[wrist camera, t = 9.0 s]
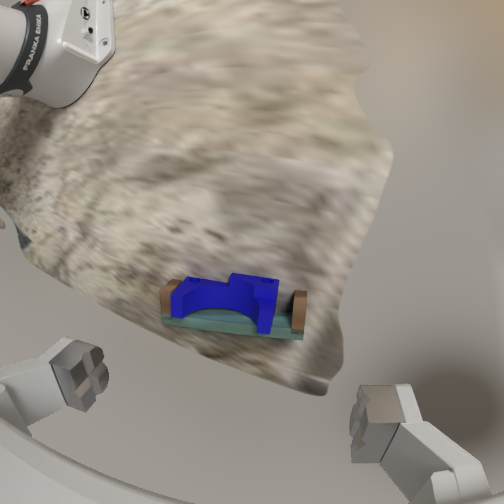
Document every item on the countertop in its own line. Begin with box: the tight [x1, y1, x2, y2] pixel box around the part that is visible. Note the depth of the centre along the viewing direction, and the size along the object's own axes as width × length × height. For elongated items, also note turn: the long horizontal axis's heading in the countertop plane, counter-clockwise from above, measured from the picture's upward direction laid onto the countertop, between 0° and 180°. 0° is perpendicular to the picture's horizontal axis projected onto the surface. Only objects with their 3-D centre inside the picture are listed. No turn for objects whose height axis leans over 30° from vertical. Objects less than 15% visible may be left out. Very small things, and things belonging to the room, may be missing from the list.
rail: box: [159, 279, 307, 340], centre depth 39 cm, size 5×18×4 cm, turn 89°
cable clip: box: [170, 273, 279, 335], centre depth 38 cm, size 12×4×6 cm, turn 85°
